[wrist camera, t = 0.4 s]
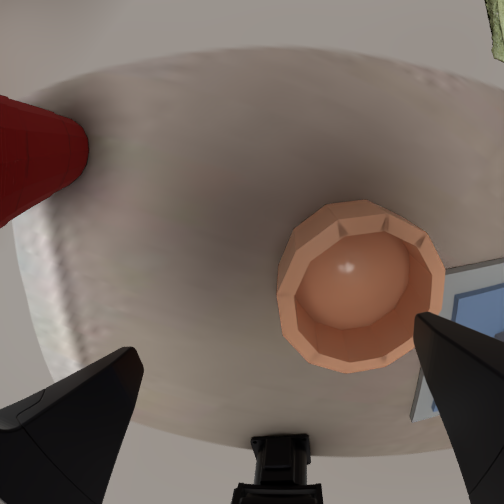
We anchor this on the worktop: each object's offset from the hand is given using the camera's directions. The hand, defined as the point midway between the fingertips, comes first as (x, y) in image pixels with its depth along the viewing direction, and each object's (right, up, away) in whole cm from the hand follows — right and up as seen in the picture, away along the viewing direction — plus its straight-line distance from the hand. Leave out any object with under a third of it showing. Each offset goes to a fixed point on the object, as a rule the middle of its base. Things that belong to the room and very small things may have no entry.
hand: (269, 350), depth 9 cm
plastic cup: (-17, +12, +13) cm, 24 cm away
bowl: (+7, +1, +14) cm, 15 cm away
